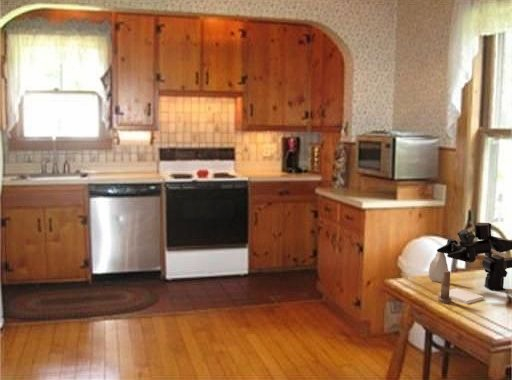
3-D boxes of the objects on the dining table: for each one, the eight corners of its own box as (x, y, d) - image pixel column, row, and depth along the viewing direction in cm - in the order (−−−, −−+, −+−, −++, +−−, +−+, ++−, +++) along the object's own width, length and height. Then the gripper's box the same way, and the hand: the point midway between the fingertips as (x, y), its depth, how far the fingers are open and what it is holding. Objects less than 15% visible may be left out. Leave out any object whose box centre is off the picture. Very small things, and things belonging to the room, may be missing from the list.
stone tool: (447, 281, 246) (449, 249, 244) (447, 283, 243) (449, 250, 241) (428, 279, 249) (429, 247, 247) (427, 281, 246) (429, 248, 244)
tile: (456, 290, 232) (456, 288, 232) (483, 299, 221) (483, 296, 221) (439, 295, 226) (439, 292, 226) (466, 304, 215) (466, 301, 215)
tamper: (443, 298, 221) (445, 269, 220) (453, 302, 217) (455, 272, 216) (435, 300, 219) (437, 270, 217) (445, 304, 214) (447, 273, 213)
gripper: (464, 225, 240) (431, 230, 239) (487, 234, 222) (451, 239, 220) (465, 249, 242) (432, 254, 240) (488, 260, 224) (453, 265, 222)
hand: (442, 253), depth 231 cm, fingers open, 9 cm apart
